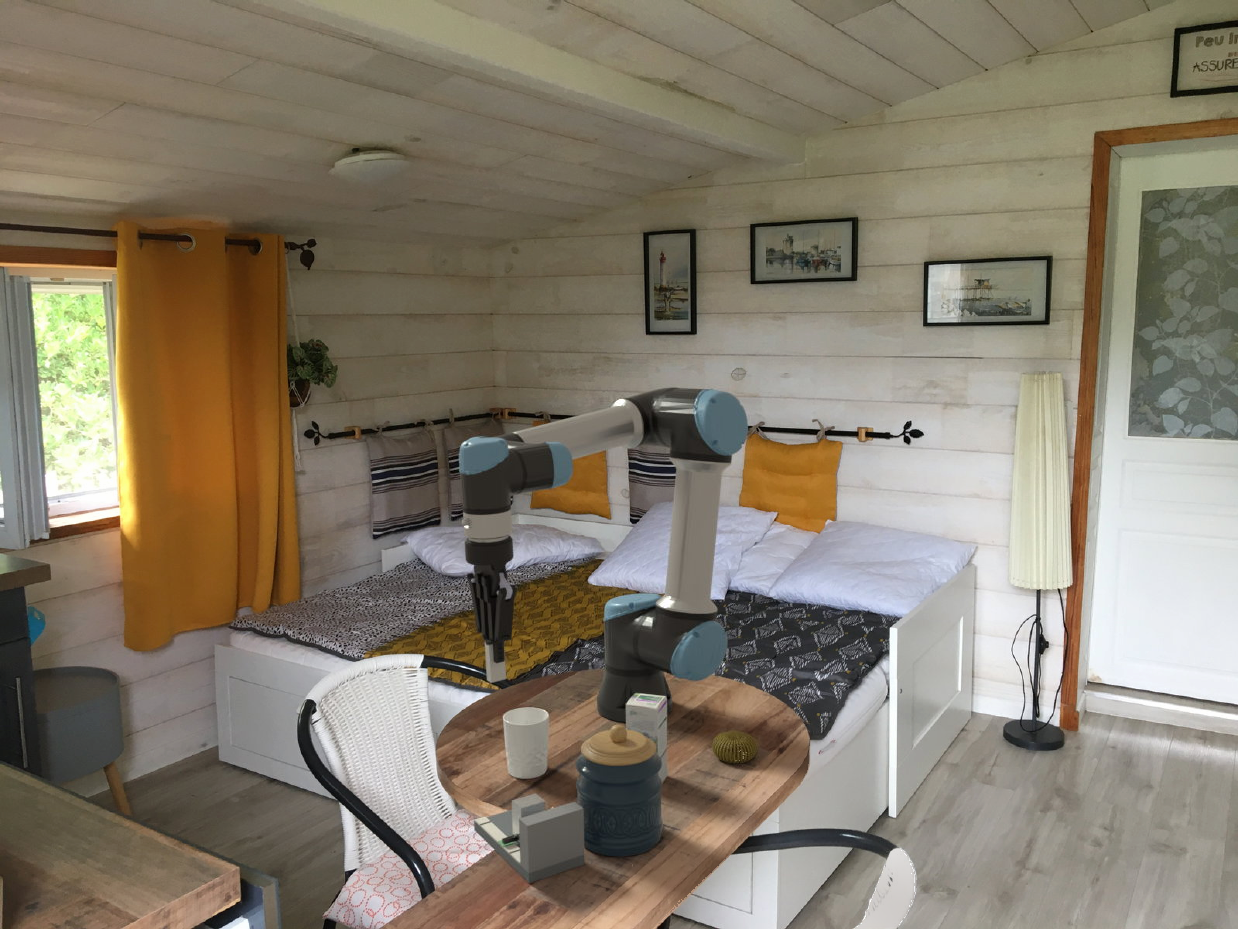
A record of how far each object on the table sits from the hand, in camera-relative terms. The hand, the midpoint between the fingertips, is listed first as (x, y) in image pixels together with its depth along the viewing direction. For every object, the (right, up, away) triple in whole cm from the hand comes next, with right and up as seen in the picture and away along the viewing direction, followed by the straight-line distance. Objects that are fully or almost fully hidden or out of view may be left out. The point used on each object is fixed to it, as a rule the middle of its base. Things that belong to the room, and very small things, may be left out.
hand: (496, 679), depth 164 cm
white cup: (+4, -19, +13) cm, 23 cm away
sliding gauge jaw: (+6, -21, -14) cm, 25 cm away
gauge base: (+6, -22, -12) cm, 26 cm away
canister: (+20, -22, -10) cm, 31 cm away
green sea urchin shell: (+40, -18, +18) cm, 47 cm away
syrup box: (+25, -19, +9) cm, 32 cm away
